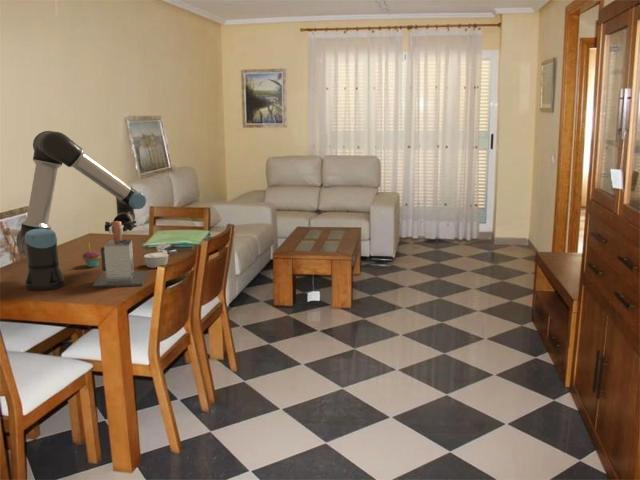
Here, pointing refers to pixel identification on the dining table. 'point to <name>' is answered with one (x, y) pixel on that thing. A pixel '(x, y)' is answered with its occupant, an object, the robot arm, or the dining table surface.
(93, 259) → the cupcake
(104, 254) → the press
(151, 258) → the ramekin
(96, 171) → the robot arm
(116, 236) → the salmon orange cylinder
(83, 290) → the dining table surface
